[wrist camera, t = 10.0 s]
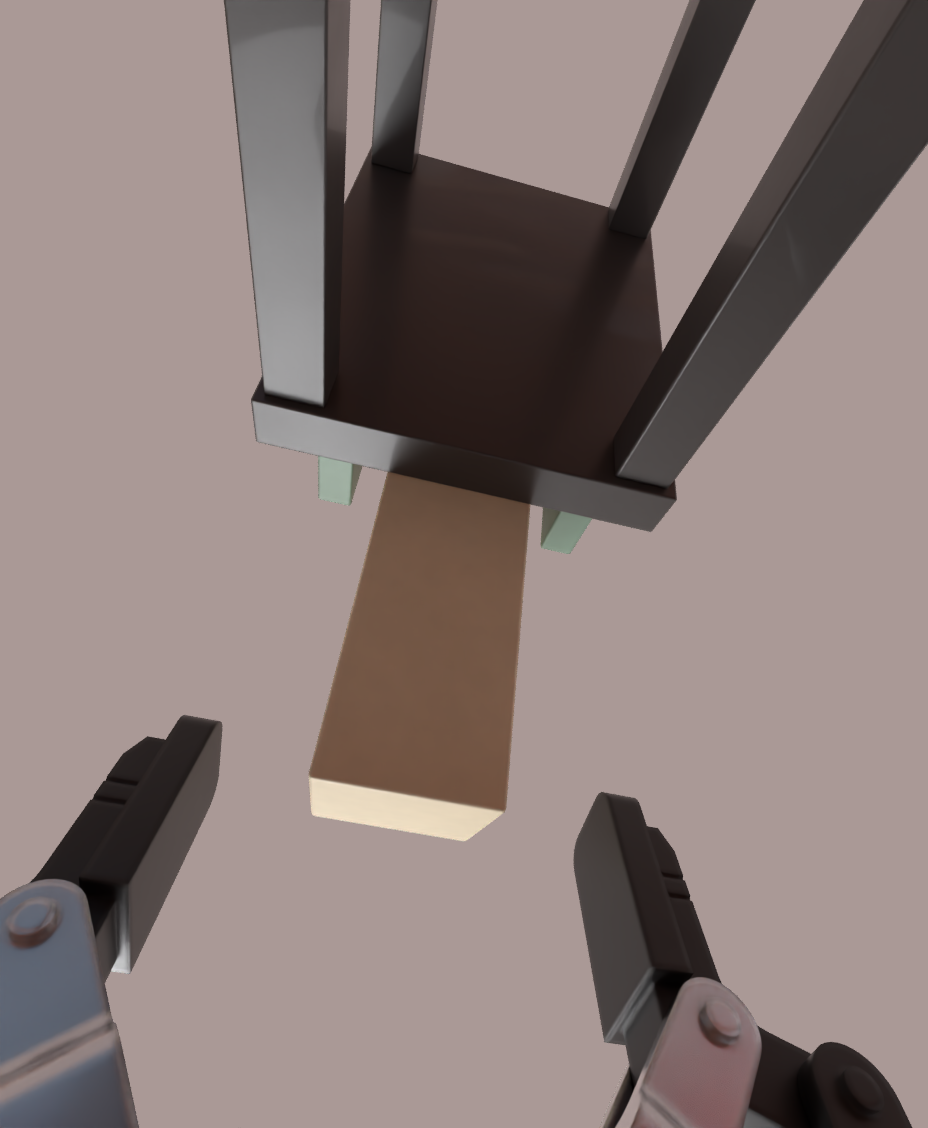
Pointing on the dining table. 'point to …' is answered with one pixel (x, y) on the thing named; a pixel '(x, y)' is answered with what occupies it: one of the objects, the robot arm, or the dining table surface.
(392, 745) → the cream box
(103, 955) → the robot arm
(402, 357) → the tall stand
